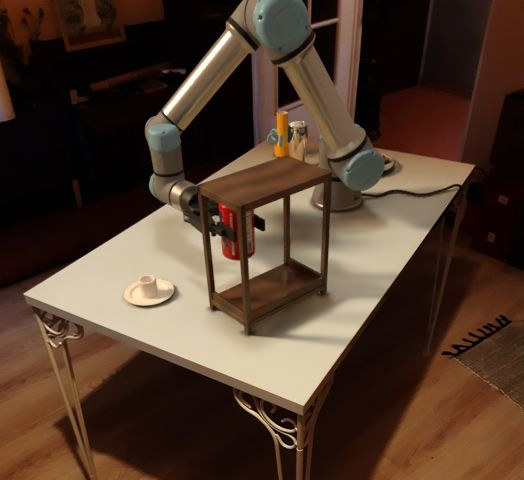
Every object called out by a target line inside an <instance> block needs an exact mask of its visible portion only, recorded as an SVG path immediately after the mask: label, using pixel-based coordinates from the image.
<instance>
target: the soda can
mask: <svg viewBox="0 0 524 480" xmlns="http://www.w3.org/2000/svg"><path fill="white" fill-rule="evenodd" d="M218 207H219V216H218V218H219V222H221V223H223V224H225V225H227V226H229V227H230V228H232V229H234V230H236V231H237V242H236V243H234V242H232V241H230V240H228V239H226V238H225V237H223V236H220V242H221V253H222V255H223V256H224V258H226V259H228V260H231V261H234V262H240V252H239V236H238V220H237V212H236V211H234V210H232V209H230V208H228V207H226V206H224V205H222V204H220V203H218ZM254 214H255V209H253V210H250V211H248V212H246V228H247V247H248V259H250V258H252V257H253V256H254V255H255V253H256V232H255V229H256V228H255V227H254Z"/></svg>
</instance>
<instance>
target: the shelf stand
mask: <svg viewBox="0 0 524 480" xmlns="http://www.w3.org/2000/svg"><path fill="white" fill-rule="evenodd" d="M321 183H324V192H323V210H322V220H321V221H322V222H321V245H320V246H321V248H320V271H318V270H315V269H314V268H311V267H310V266H308V265H306V264H304V263H302V262H301V261H298V260H296V259H295V258H293V257H291V196H292V195H294V194H297V193H300V192H303V191H306V190H308V189H311V188H315V186H316V185H319V184H321ZM196 185H197V190H198V199H199V209H200V218H201V228H202V233H201V237H202V246H203V247H202V248H203V255H204V264H205V275H206V285H207V293H208V301H209V309H210V310H211V311H216V310H218V309H219V310H220V311H222V312H223V313H225V314H226V315H228V316H229V317H230V318H232V319H233V320H235V321H236V322H237V323H239V324H240V325H241V326H243V330H244V331H243V332H244V334H245V335H247V336H249V335H251V334H253V326H255V325H258V324H259V323H261V322H263V321H265V320H267V319H269V318H271V317H273V316H275V315H277V314H279V313H280V312H282V311H284V310H285V311H286V310H287V309H289V308H290V307H292V306H295V305H297V304H298V303H300V302H302V301H304V300H307V299H308V298H310V297H312V296H314V295H316V294H318V293H319V295H320V296H322V297H325V296H326V295H327V294H328V293H327V292H328V272H329V271H328V270H329V251H330V231H331V212H332V211H331V191H332V172H331V171H328V170H326V169H323V168H320V167H319V166H317V165H314V164H313V163H310V162H306V161H305V162H304V161H301V160H298V159H296V158H293V157H290V156H287V155H286V156H283V157H277V158H274V159H271V160H268V161H265V162H262V163H259V164H255V165H253V166H250V167H247V168H243V169H240V170H237V171H235V172H232V173H228V174H225V175H223V176H219V177H217V178H213V179H210V180H208V181H205V182H201V183H198V184H196ZM206 197H208V198H210V199H212V200H214V201H216V202H218V203H220V204H222V205H224V206H226V207H228V208H230V209H232V210H234V211H236V212H237V220H238V236H239V252H240V261H239V265H240V266H239V267H240V268H239V269H240V283H238V284H236V285H233V286H231V287H229V288H227V289H225V290H223V291H220V292H218V291H216V284H215V273H214V264H213V263H214V262H213V252H212V243H211V232H210V230H209V220H208V210H207V199H206ZM281 199H282V226H283V227H282V229H283V231H282V232H283V233H282V234H283V235H282V237H283V239H282V240H283V241H282V242H283V245H282V247H283V263H282V264H280V265H277V266H275V267H273V268H271V269H268V270H266V271H265V272H262V273H260V274H258V275H256V276H253V277H251V278H250V270H249V269H250V268H249V267H250V266H249V258H248V247H247V228H246V212H248V211H250V210H253V209H254V210H255V209H258V208H260V207H263V206H266V205H268V204H271V203H274V202H276V201H279V200H281Z"/></svg>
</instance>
